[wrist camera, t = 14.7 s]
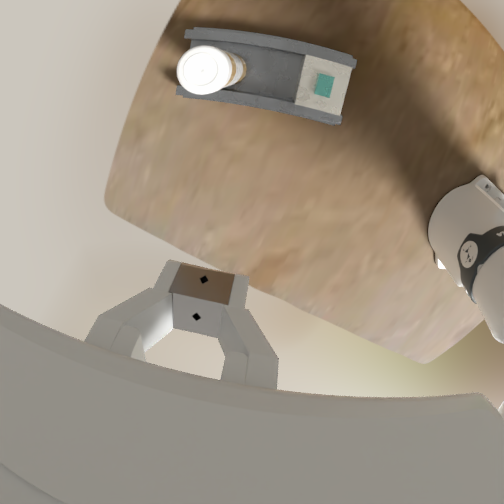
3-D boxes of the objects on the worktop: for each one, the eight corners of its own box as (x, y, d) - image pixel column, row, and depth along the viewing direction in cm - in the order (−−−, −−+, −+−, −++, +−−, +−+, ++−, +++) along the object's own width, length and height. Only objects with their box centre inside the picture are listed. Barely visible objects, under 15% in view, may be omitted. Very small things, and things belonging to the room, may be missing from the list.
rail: (351, 56, 29) (367, 53, 23) (333, 124, 35) (344, 137, 29) (196, 27, 29) (175, 19, 22) (185, 96, 34) (163, 103, 28)
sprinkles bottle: (204, 66, 31) (164, 67, 20) (233, 46, 29) (207, 34, 18) (225, 92, 33) (195, 105, 22) (255, 73, 31) (239, 74, 20)
